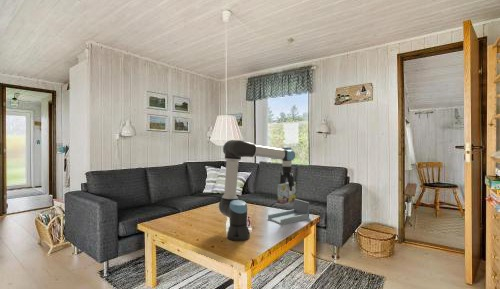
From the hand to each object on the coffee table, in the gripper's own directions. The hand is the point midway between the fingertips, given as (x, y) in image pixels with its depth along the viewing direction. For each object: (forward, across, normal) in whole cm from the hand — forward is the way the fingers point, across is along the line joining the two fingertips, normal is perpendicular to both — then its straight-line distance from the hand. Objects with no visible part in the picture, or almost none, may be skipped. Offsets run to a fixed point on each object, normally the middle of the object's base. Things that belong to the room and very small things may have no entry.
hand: (286, 193), depth 209 cm
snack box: (+6, 0, 0) cm, 6 cm away
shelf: (+21, 0, -2) cm, 21 cm away
